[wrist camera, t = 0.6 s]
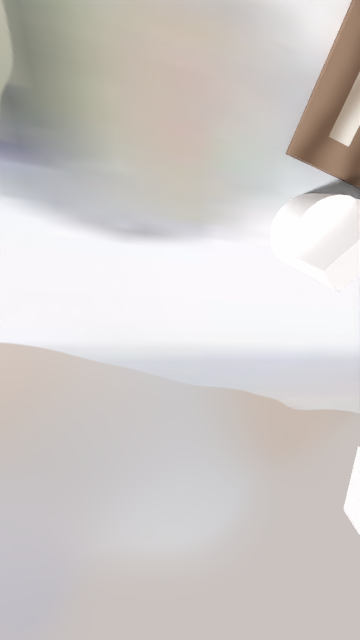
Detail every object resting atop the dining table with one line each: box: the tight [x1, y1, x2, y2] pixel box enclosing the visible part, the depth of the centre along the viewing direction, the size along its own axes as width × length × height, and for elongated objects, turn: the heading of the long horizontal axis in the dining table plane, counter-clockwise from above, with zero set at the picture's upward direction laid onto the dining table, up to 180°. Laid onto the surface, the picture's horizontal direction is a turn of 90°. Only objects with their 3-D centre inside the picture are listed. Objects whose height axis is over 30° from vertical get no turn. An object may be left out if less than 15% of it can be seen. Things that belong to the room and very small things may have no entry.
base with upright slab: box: [270, 193, 360, 292], centre depth 31 cm, size 9×9×12 cm
